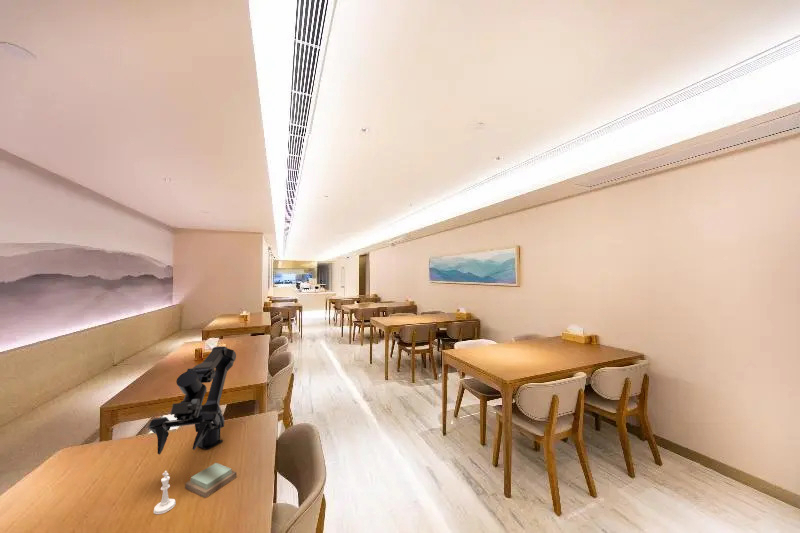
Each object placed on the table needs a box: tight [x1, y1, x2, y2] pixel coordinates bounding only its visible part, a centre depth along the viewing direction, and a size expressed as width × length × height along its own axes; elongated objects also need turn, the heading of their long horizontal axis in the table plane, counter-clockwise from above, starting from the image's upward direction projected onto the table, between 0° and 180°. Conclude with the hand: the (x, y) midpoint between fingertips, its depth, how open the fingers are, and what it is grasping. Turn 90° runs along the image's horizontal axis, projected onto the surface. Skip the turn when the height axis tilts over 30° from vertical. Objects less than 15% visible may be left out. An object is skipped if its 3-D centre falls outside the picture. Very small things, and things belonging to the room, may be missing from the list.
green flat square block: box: [184, 462, 238, 499], centre depth 93 cm, size 10×10×3 cm
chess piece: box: [153, 470, 176, 515], centre depth 83 cm, size 5×5×10 cm
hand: (176, 451), depth 89 cm, fingers open, 9 cm apart
